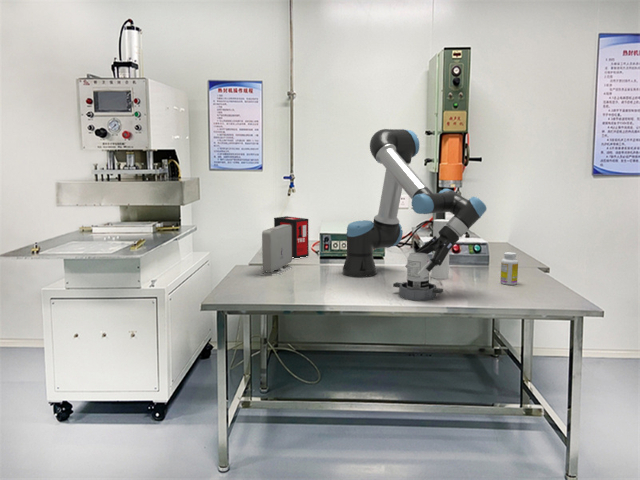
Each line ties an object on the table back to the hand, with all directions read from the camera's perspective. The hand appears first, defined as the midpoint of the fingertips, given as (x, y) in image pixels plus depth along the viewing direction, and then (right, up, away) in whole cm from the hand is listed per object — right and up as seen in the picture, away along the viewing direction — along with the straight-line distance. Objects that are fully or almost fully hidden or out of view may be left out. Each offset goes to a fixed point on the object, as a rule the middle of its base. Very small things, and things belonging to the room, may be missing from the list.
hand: (413, 272), depth 207 cm
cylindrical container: (+17, -4, +33) cm, 38 cm away
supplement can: (+2, -8, +2) cm, 9 cm away
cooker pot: (+2, -9, +2) cm, 9 cm away
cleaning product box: (-50, +3, +83) cm, 97 cm away
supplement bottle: (+43, -6, +22) cm, 49 cm away
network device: (-55, -2, +48) cm, 73 cm away
